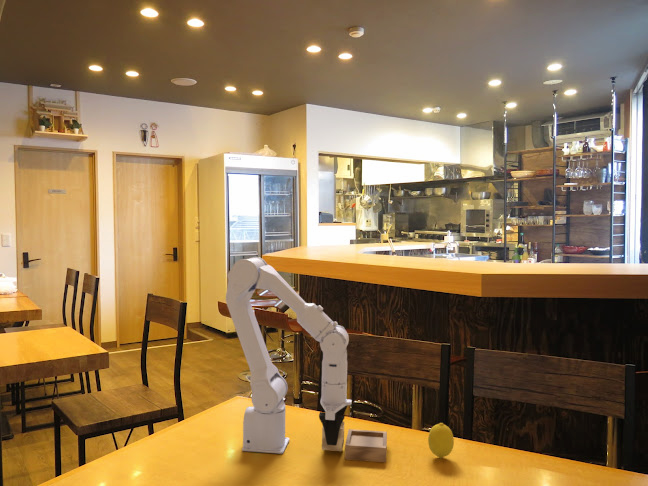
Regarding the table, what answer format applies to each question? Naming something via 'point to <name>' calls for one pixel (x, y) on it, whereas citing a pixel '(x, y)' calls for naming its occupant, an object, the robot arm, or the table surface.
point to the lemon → (440, 440)
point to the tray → (366, 445)
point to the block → (339, 443)
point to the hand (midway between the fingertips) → (333, 439)
